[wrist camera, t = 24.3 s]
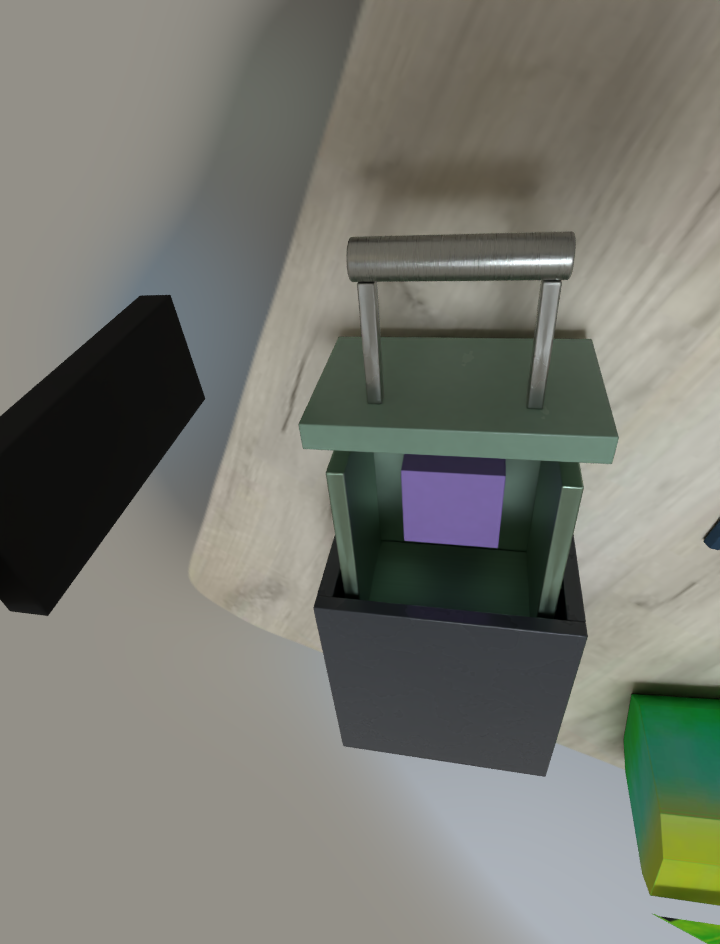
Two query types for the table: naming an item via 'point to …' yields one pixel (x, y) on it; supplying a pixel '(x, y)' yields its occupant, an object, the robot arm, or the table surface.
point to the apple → (676, 799)
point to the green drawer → (460, 427)
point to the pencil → (713, 538)
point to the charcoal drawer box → (451, 675)
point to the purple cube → (452, 499)
